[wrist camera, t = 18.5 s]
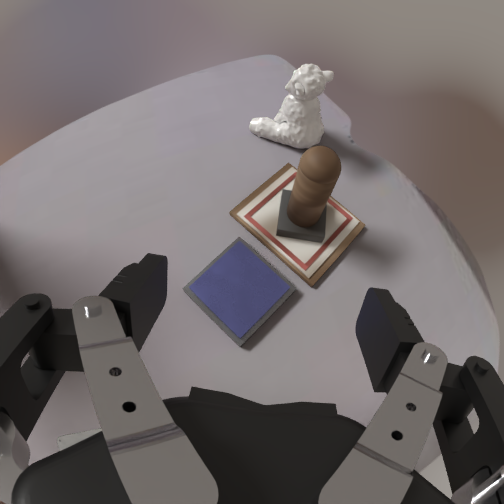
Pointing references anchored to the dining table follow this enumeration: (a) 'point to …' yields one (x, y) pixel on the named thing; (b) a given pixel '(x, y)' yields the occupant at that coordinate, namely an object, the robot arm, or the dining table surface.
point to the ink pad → (239, 291)
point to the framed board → (289, 249)
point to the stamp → (309, 196)
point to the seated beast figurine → (297, 110)
